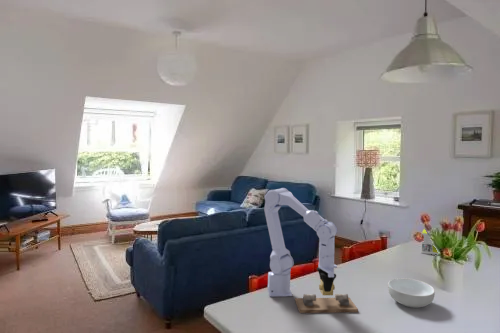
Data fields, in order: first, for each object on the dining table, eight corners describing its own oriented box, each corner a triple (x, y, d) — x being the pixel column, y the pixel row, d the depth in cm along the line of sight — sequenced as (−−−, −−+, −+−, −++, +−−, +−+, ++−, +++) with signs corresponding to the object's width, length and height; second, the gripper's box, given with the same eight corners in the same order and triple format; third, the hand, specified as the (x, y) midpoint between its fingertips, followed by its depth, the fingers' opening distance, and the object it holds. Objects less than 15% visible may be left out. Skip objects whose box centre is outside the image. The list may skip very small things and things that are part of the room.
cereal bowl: (378, 298, 145) (378, 281, 145) (408, 291, 152) (409, 275, 151) (412, 316, 130) (412, 298, 129) (444, 308, 136) (444, 290, 136)
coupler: (320, 295, 135) (321, 282, 135) (318, 291, 139) (318, 278, 139) (335, 295, 135) (335, 282, 135) (332, 290, 139) (332, 278, 139)
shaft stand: (299, 312, 132) (299, 300, 132) (295, 301, 142) (295, 289, 142) (357, 312, 133) (358, 299, 132) (349, 300, 143) (349, 288, 142)
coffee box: (444, 256, 200) (445, 235, 199) (420, 253, 206) (421, 232, 205) (445, 251, 211) (446, 230, 210) (422, 248, 217) (423, 228, 216)
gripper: (342, 260, 129) (341, 296, 130) (331, 248, 143) (331, 281, 144) (323, 260, 129) (322, 296, 129) (314, 248, 143) (314, 281, 144)
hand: (325, 288), depth 137 cm, fingers closed on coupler, 4 cm apart
